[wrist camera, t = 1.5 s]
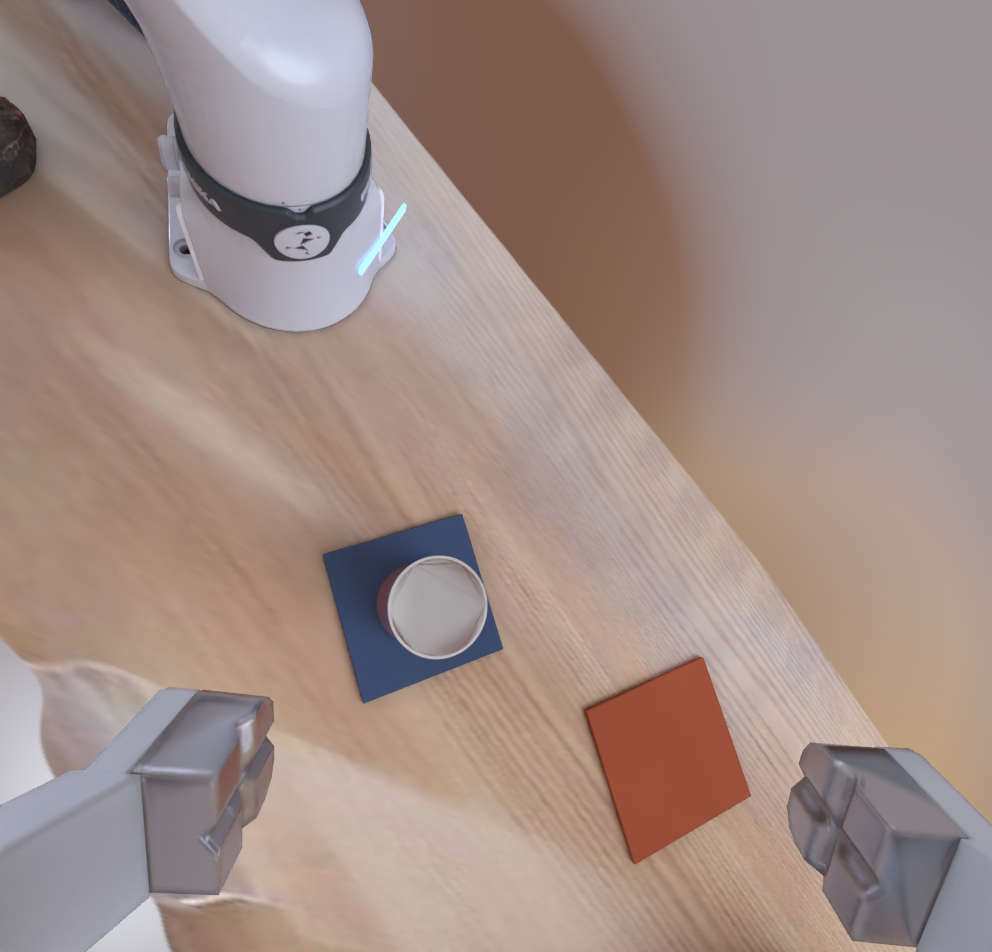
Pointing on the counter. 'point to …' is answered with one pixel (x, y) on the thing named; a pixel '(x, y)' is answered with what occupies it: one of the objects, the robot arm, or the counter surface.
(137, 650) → the counter surface
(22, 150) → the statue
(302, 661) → the counter surface
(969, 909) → the robot arm
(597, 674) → the counter surface
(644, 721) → the terracotta mat
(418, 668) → the blue mat
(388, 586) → the tumbler
